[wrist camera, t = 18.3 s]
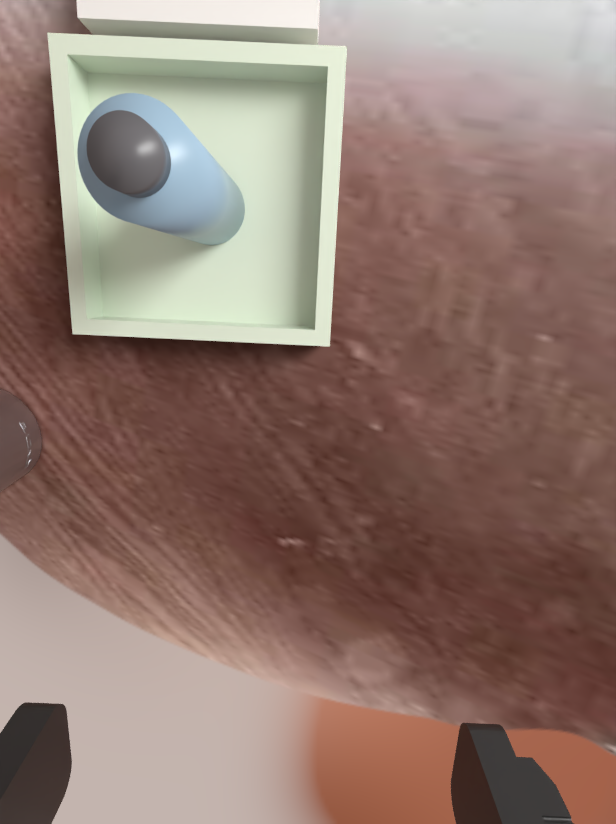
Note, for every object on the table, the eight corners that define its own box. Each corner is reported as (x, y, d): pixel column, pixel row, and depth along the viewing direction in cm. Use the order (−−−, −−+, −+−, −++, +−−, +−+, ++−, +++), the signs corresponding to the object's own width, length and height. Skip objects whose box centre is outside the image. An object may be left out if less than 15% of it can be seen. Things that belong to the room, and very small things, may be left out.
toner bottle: (175, 243, 39) (65, 216, 22) (173, 167, 37) (54, 75, 20) (244, 246, 39) (188, 222, 22) (245, 171, 37) (185, 82, 20)
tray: (94, 329, 41) (72, 334, 38) (74, 57, 36) (47, 32, 32) (328, 340, 41) (329, 346, 38) (344, 69, 36) (347, 46, 32)
